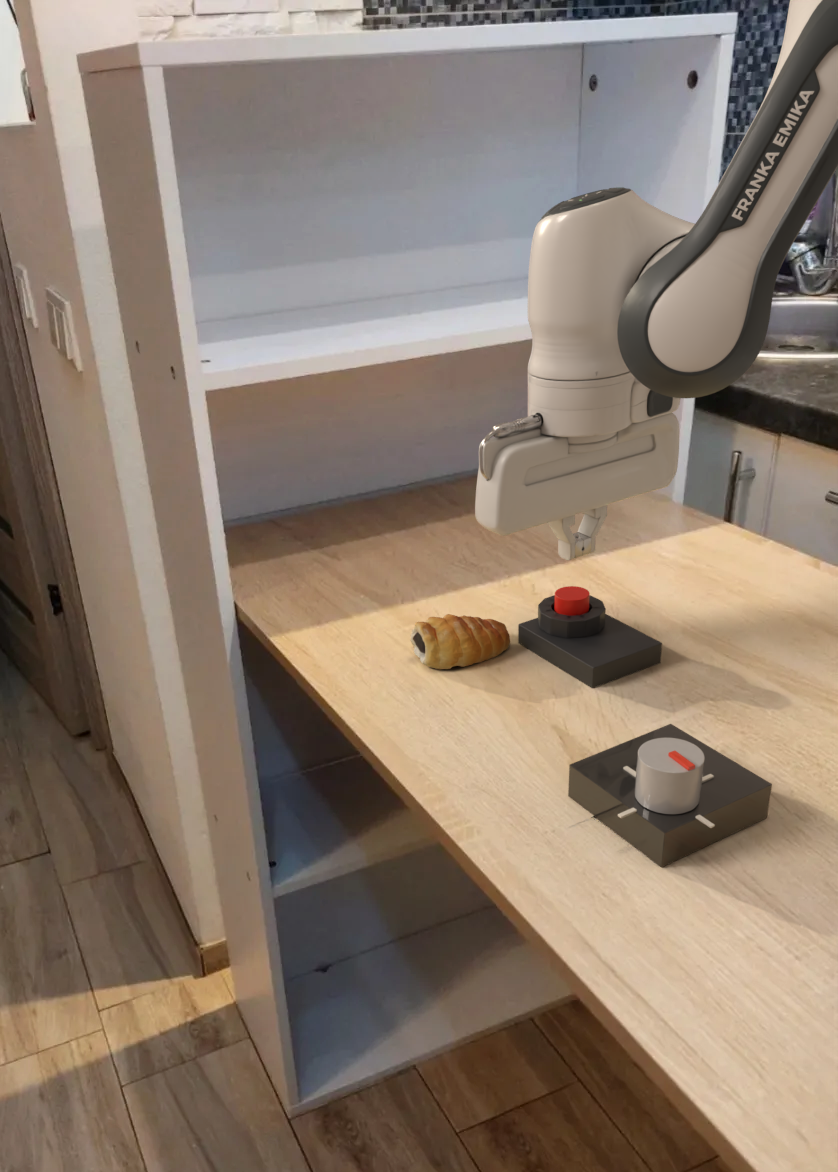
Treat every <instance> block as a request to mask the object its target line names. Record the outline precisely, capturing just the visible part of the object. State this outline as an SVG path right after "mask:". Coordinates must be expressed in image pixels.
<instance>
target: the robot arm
mask: <svg viewBox="0 0 838 1172" xmlns="http://www.w3.org/2000/svg"><path fill="white" fill-rule="evenodd" d="M776 63H777V64H776V67H775V69H774V73H773V76H772V79H771V81H770V83H769V86H768V89H767V91H766V93H765V96H764V98H763V101H761V104H760V107H759V108H758V110H757V113H756V115H755V116H754V118H753V120H752V122H751V124H750V126H749V127H748V129H747V131H746V133H745V135H744V137H743V138H742V139H741V140H742V141H741V142H740V144H739V146H738V148H737V149H736V151H735V153H734V155H733V157H732V159H731V160H730V163H729V164H728V166H727V168H726V170H725V171H724V173H723V175H722V177H721V178H720V180H719V182H718V184H717V186H716V188H715V190H714V191H713V194H712V195H711V197H710V199H709V200H708V203H707V205H706V206H705V208H704V210H703V211H702V213H701V215H700V216H699V217H698V219H697V220H696V222H695V223H694V222H692V221H688V220H685V219H682V218H680V217H676V216H674V215H672V214H671V213H668V212H665V211H664V210H661V209H660V208H657V207H656V206H654V205H652V204H651V203H648V202H647V201H645V200H644V199H643V198H642V197H641V196H639V195H638V194H637V193H636V192H635V191H634V190H633V189H631V188H629V187H628V188H627V187H623V186H622V187H617V186H616V187H609V188H605V189H598V190H595V191H591V192H588V193H583V194H580V195H577V196H574V197H571V198H569V199H567V200H563V201H560V202H559V203H557V204H555V205H554V206H552V207H551V208H549V209H548V210H547V211H546V212H545V213H544V214H543V215H542V216H541V217H540V218H541V219H540V220H539V221H538V222H537V223H536V224H535V228H534V231H533V235H532V238H531V245H530V252H529V260H528V261H529V262H528V277H527V282H528V283H527V322H528V325H529V328H530V332H531V338H532V339H531V340H532V344H531V351H530V356H529V360H528V364H527V416H524V417H520V418H518V419H516V420H515V419H514V420H513V421H509V422H508V421H504V422H500V423H497V424H495V425H494V426H492V428H491V431H489V432H488V433H487V434H485V437H484V438H483V439H482V440H481V442H480V443H479V446H478V471H477V477H476V486H475V487H476V488H475V489H476V490H475V499H474V500H475V501H474V516H475V520H476V522H477V523H478V524H479V525H480V526H481V527H482V528H483V529H485V530H486V531H489V532H490V533H492V534H495V535H497V536H500V537H506V536H510V535H513V534H517V533H519V532H523V531H526V530H530V529H533V528H537V527H539V526H542V525H543V526H544V525H548V526H549V528H550V529H551V531H552V533H553V534H554V536H555V537H556V539H557V554H558V557H560V559H562V560H565V561H568V562H569V561H572V560H575V559H578V558H581V557H585V556H588V555H591V554H593V553H596V546H597V545H596V542H597V541H596V540H597V535H598V534H599V532H600V530H601V529H602V526H603V525H604V523H605V521H606V519H607V517H608V505H612V504H615V503H619V502H622V501H625V500H628V499H632V498H636V497H640V496H642V495H645V494H648V493H653V492H655V491H659V490H663V489H666V488H667V487H669V486H670V485H671V483H672V481H673V480H674V479H675V477H676V475H677V472H678V466H679V454H680V423H679V420H678V417H677V416H676V415H675V412H676V411H677V410H678V409H679V407H680V404H681V399H695V398H702V397H706V396H709V395H713V394H715V393H717V392H720V391H722V390H724V389H725V388H727V387H730V386H731V385H732V384H734V383H736V381H737V380H739V379H740V378H741V377H742V376H743V375H745V373H746V372H747V371H748V370H750V368H751V366H752V365H754V363H755V361H756V359H757V358H758V356H759V355H760V352H761V350H762V348H763V345H764V343H765V341H766V337H767V333H768V330H769V323H770V318H771V312H772V305H773V304H772V303H773V298H774V293H775V292H774V291H775V286H776V282H777V278H778V275H779V272H780V269H781V268H782V265H783V263H784V261H785V259H786V257H787V255H788V254H789V252H790V250H791V248H792V246H793V244H794V242H795V241H796V239H797V237H798V235H799V234H800V232H801V231H802V229H803V227H804V225H805V224H806V222H807V220H808V219H809V216H810V215H811V213H812V212H813V210H814V208H815V206H816V205H817V204H818V201H819V200H820V198H821V197H822V195H823V193H824V191H825V190H826V188H827V186H828V185H829V183H830V181H831V179H832V178H833V176H834V174H835V172H836V171H837V170H838V0H789V5H788V11H787V17H786V23H785V30H784V35H783V39H782V44H781V48H780V53H779V56H778V61H777V62H776ZM579 514H583V516H582V519H581V521H580V524H579V526H578V530H577V531H576V532H574V533H573V532H572V531H573V530H572V529H571V527H572V526H575V524H576V515H579Z"/></svg>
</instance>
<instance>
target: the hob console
mask: <svg viewBox="0 0 838 1172" xmlns="http://www.w3.org/2000/svg"><path fill="white" fill-rule="evenodd" d="M657 738H677V739H682V740H685V741H688V742H690V743H692V744H694V745H696V746H697V747H699V748H700V749H701V750H702V752H703V754H704V757H705V760H704V769H703V777H702V785H701V794H700V801H699V803H698V805H697V806H696V807H695V808H694V809H693V810H691V811H689V812H686V813H682V814H662V813H657V812H654V811H651V810H649V809H647V808H645V807H644V806H642V805H641V804H640V803H639V802H638V801H637V799H636V797H635V781H636V768H637V756H638V750H639V748H640V746H641V745H642V744H644V743H645V742H647V741H649V740H652V739H657ZM568 770H569V771H568V788H567V789H568V791H567V795H568V797H569V798H570V799H571V800H572V801H574V802H576V803H577V804H578V805H579V806H581V807H582V808H583V809H584V810H585V811H588V812H589V813H590V814H591V815H593V818H595V819H596V820H598V821H599V822H601V823H602V824H603V825H605V826H606V827H607V828H609V829H610V830H611V831H612V832H614V833H615V834H616V835H618V836H619V837H620V838H622V839H623V840H624V841H626V842H627V843H628V844H630V845H631V846H632V847H633V848H635V849H636V850H637V851H639V852H640V853H642V854H643V855H644V856H645V857H647V858H648V859H650V860H651V861H652V862H653V863H655V864H656V865H657V866H659V867H660V868H663V867H666V866H668V865H669V864H672V863H673V862H676V861H679V860H680V859H683V858H684V857H686V856H687V857H688V856H689V855H690V854H693V853H695V852H698V851H699V850H701V849H703V848H705V847H708V846H710V845H712V844H714V843H716V842H718V841H721V840H723V839H725V838H727V837H729V836H731V835H733V834H736V833H737V832H740V831H742V830H744V829H746V828H748V827H750V826H753V825H754V824H757V823H759V822H761V821H763V820H765V819H767V818H768V812H769V806H770V800H771V794H772V788H773V783H771V782H769V781H768V780H766V779H764V778H762V777H761V776H759V775H758V774H756V773H754V772H753V771H751V770H749V769H748V768H747V767H744V766H743V765H741V764H739V763H737V762H736V761H734V760H732V759H731V758H730V757H727V756H726V755H724V754H723V753H721V752H719V751H717V750H716V749H714V748H712V747H711V746H709V745H707V744H706V743H704V742H703V741H701V740H699V739H697V738H696V737H694V736H693V735H691V734H689V733H687V731H684V730H682V729H680V728H679V727H677V726H676V725H674V724H672V723H668V724H666V725H663V726H661V727H658V728H657V729H654V730H652V731H649V732H646V733H644V734H641V735H639V736H637V737H634V738H632V739H629V740H627V741H624V742H622V743H619V744H616V745H615V746H612V747H610V748H606V749H605V750H602V751H599V752H597V753H595V754H592V755H589V756H587V757H585V758H582V759H580V760H577V761H575V762H573V763H570V764H569V766H568Z"/></svg>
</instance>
